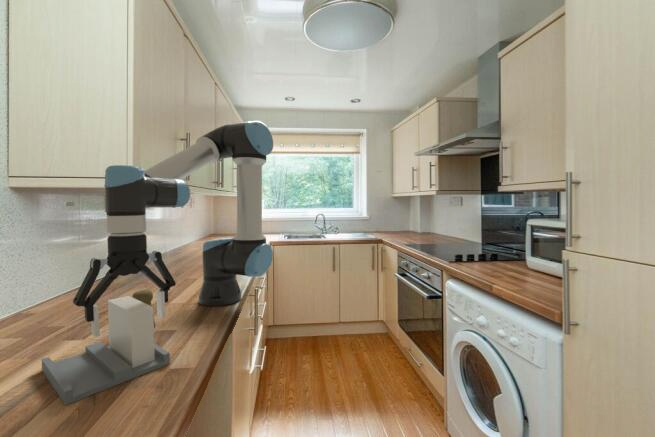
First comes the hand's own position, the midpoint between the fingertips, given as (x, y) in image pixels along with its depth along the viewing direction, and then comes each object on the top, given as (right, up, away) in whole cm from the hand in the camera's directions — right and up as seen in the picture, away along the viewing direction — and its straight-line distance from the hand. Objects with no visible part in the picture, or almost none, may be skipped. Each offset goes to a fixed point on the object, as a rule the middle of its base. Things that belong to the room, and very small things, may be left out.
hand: (130, 325), depth 72 cm
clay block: (0, -7, 0) cm, 7 cm away
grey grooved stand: (-3, -8, -3) cm, 9 cm away
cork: (-8, -7, +18) cm, 21 cm away
